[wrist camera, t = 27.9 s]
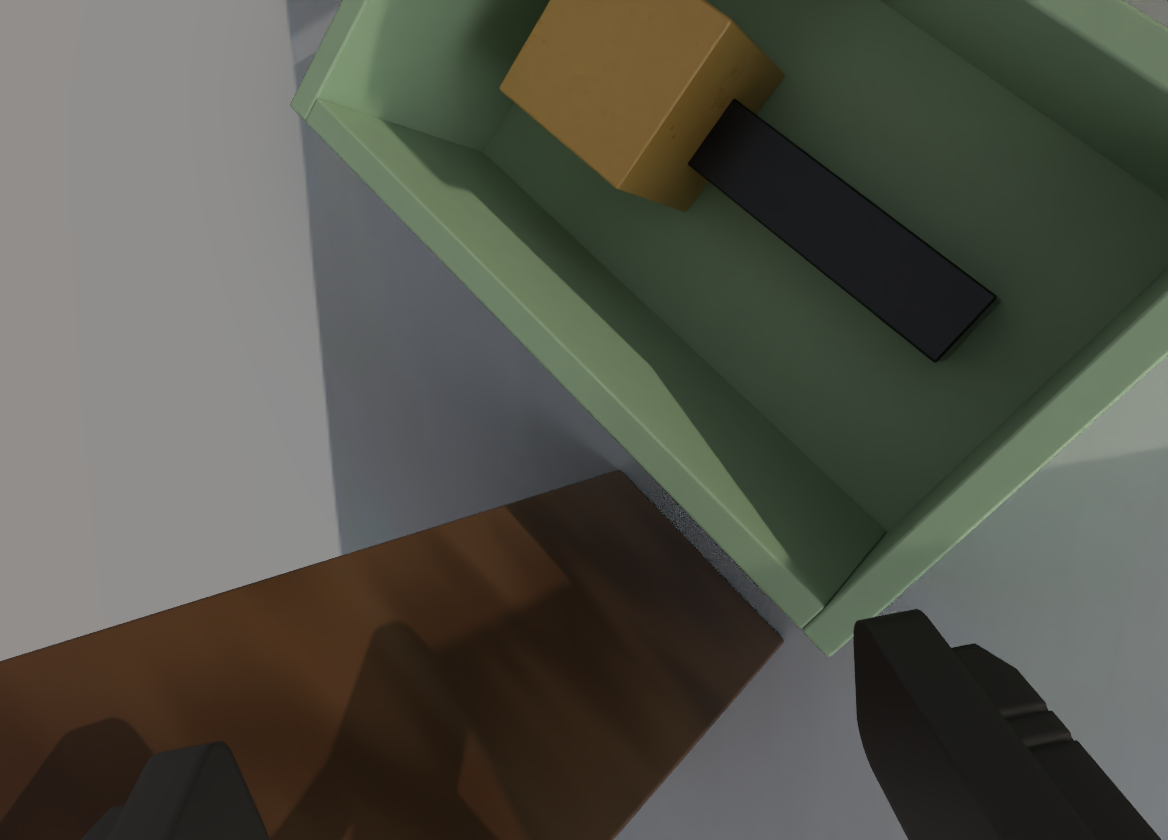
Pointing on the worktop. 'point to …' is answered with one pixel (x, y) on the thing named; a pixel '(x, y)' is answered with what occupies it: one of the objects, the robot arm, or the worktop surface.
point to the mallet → (727, 150)
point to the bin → (802, 262)
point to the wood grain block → (408, 682)
